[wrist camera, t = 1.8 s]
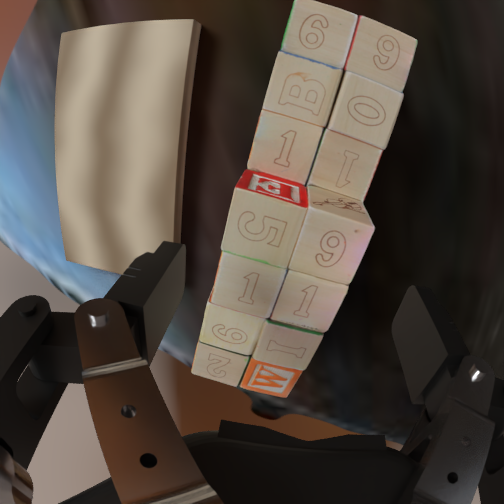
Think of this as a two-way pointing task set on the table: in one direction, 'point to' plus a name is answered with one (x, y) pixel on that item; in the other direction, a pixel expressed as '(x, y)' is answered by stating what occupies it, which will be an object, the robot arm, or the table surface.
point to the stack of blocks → (303, 197)
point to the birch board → (122, 138)
